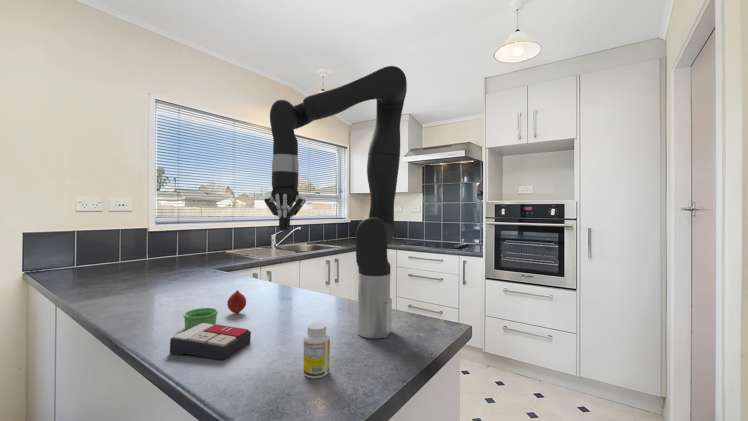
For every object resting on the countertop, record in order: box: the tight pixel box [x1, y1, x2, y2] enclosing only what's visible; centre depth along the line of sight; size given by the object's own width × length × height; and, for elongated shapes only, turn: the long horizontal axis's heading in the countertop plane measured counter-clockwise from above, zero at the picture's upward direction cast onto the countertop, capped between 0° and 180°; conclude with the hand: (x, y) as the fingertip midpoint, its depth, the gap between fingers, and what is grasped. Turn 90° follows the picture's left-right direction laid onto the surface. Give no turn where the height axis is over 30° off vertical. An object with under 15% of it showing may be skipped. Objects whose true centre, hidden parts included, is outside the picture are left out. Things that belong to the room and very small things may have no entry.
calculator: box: [169, 323, 252, 361], centre depth 82 cm, size 11×4×15 cm
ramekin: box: [183, 307, 218, 331], centre depth 96 cm, size 9×9×4 cm
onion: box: [226, 290, 247, 315], centre depth 108 cm, size 6×6×8 cm
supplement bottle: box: [303, 322, 331, 379], centre depth 70 cm, size 6×6×10 cm
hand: (284, 230), depth 95 cm, fingers closed
